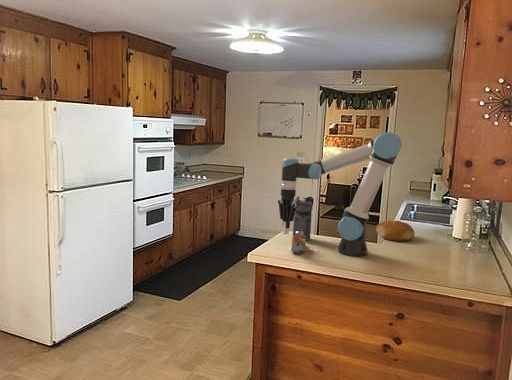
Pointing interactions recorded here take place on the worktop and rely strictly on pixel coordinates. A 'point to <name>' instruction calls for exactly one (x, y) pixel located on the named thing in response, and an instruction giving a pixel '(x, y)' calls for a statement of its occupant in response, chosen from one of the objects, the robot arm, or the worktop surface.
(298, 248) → the valve pipe
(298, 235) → the lever
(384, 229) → the bread
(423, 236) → the worktop surface
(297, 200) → the beverage bottle
